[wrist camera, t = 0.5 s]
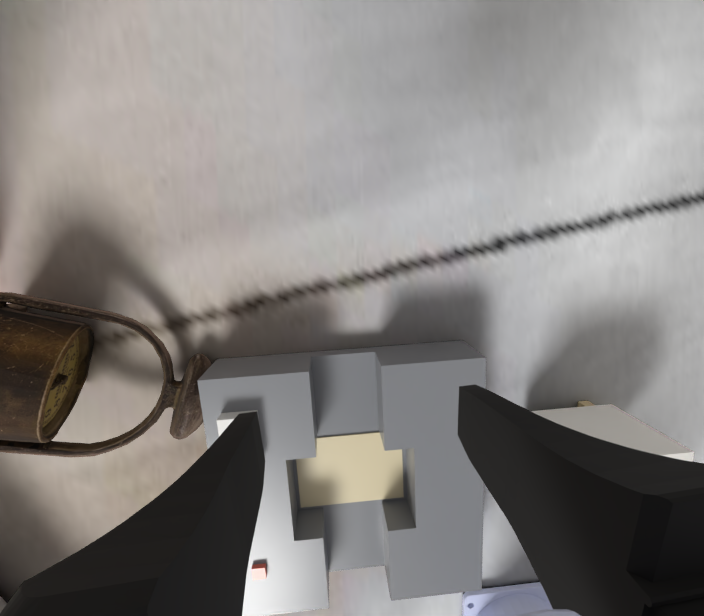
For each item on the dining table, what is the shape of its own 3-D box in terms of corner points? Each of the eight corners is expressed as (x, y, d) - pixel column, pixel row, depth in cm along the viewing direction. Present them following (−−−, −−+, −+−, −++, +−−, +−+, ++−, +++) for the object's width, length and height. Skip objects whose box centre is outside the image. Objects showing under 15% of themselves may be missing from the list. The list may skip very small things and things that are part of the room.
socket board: (461, 544, 26) (487, 602, 22) (246, 568, 26) (230, 633, 21) (462, 340, 23) (492, 362, 19) (217, 358, 22) (191, 386, 18)
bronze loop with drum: (-32, 223, 15) (-213, 414, 14) (212, 398, 16) (61, 590, 15) (76, 254, 22) (-38, 383, 21) (240, 375, 23) (139, 504, 22)
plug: (595, 448, 26) (684, 517, 19) (516, 456, 25) (579, 528, 19) (600, 397, 25) (694, 452, 19) (518, 404, 25) (585, 462, 18)
